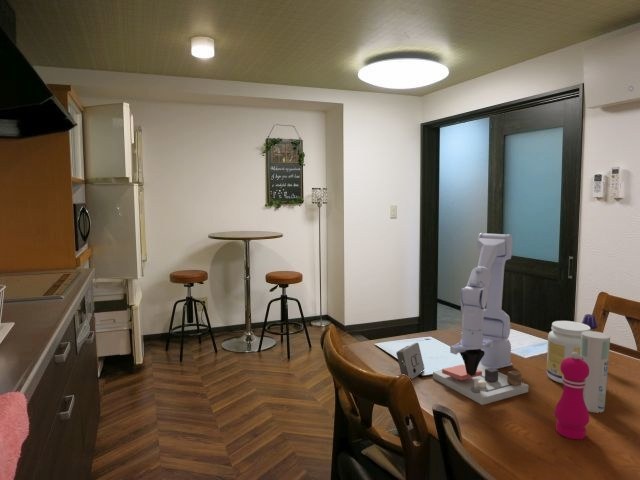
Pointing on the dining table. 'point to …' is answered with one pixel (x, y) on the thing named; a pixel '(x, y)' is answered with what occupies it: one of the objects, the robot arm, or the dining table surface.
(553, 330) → the supplement tub
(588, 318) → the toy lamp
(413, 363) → the electrical switch
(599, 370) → the spray can
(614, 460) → the dining table surface
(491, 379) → the black slider
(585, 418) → the pepper mill
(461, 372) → the red rocker
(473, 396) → the console
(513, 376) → the walnut slider
